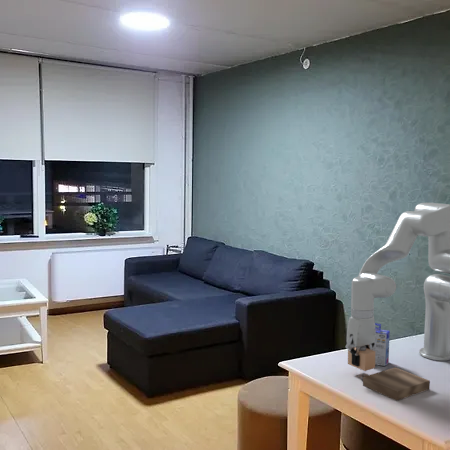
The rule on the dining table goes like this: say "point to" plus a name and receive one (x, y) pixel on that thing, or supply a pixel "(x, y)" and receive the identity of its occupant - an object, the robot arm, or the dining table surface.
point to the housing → (364, 358)
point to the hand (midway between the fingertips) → (361, 363)
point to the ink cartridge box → (381, 346)
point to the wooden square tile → (396, 383)
